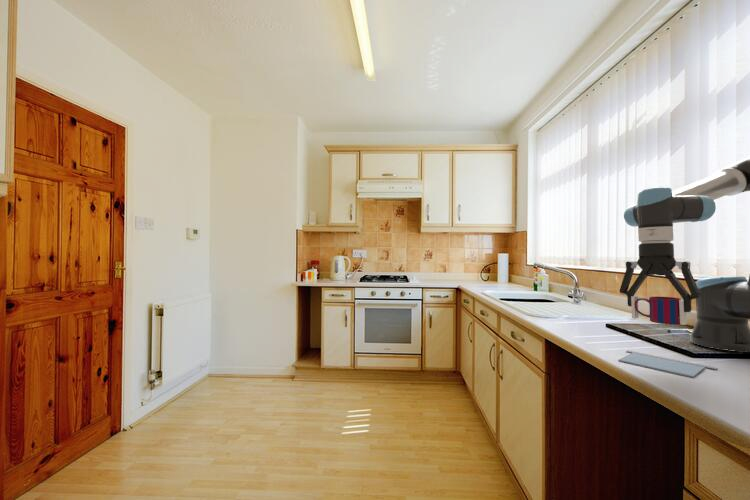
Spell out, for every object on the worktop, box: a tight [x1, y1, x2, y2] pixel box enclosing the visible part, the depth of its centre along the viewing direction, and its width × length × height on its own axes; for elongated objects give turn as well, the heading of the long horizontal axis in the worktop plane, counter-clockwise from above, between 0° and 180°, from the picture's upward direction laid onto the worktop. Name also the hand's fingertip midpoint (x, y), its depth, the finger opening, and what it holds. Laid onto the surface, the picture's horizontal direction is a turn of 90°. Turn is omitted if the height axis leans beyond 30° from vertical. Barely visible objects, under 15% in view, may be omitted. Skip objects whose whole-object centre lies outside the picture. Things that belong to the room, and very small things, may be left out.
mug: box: [635, 296, 683, 326], centre depth 91 cm, size 7×10×7 cm
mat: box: [617, 353, 706, 379], centre depth 90 cm, size 11×16×1 cm
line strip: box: [625, 349, 719, 371], centre depth 94 cm, size 2×20×1 cm, turn 33°
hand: (658, 320), depth 91 cm, fingers closed on mug, 10 cm apart
